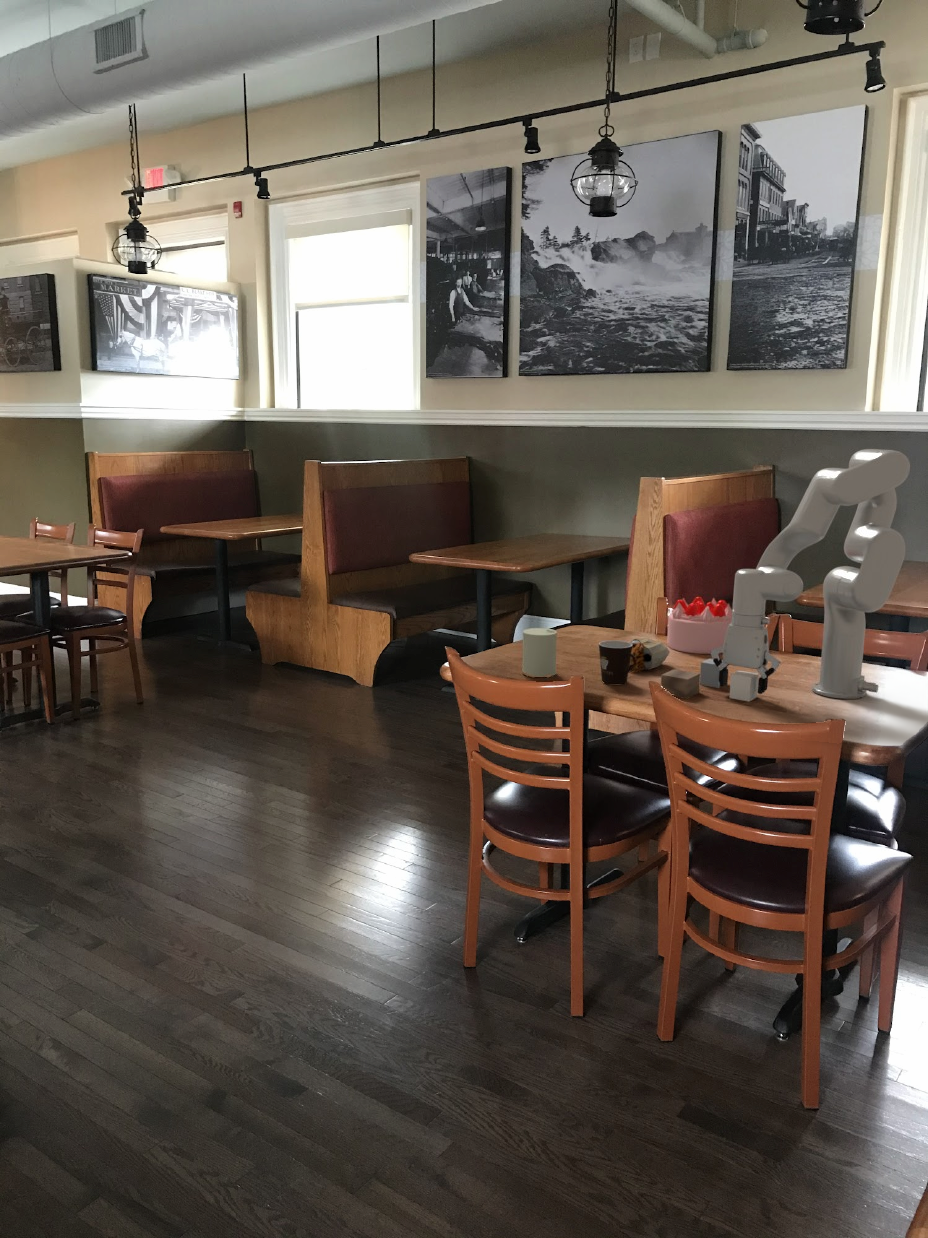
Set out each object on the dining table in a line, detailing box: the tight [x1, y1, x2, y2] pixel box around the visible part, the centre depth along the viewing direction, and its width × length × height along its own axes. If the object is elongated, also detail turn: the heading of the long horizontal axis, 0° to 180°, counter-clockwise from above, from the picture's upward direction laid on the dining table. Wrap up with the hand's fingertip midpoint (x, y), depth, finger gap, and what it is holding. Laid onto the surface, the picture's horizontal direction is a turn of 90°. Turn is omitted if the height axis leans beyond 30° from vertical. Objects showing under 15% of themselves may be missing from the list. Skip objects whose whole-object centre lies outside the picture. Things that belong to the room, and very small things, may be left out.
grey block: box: [699, 658, 723, 689], centre depth 249 cm, size 5×5×6 cm
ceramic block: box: [729, 670, 760, 702], centre depth 237 cm, size 5×5×6 cm
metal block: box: [660, 668, 700, 699], centre depth 241 cm, size 7×7×5 cm
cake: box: [666, 596, 732, 655], centre depth 290 cm, size 20×20×14 cm
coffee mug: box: [598, 640, 636, 685], centre depth 249 cm, size 12×9×10 cm
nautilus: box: [628, 637, 671, 675], centre depth 265 cm, size 8×22×15 cm
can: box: [521, 627, 558, 676], centre depth 258 cm, size 9×9×12 cm
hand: (742, 689), depth 237 cm, fingers open, 9 cm apart
